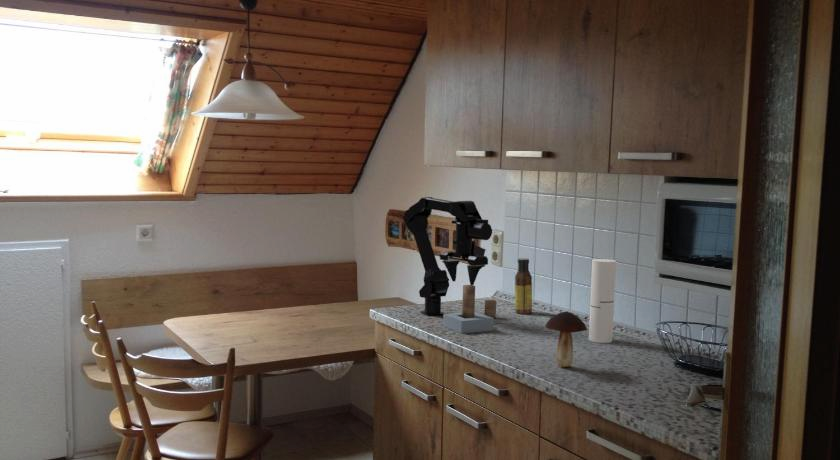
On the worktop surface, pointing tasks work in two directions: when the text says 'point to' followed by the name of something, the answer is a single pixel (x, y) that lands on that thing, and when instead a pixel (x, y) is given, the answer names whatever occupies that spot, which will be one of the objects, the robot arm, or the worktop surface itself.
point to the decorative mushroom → (565, 335)
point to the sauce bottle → (523, 288)
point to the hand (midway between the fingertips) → (462, 283)
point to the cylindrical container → (602, 300)
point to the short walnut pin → (490, 308)
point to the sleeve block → (468, 323)
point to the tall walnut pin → (468, 301)
